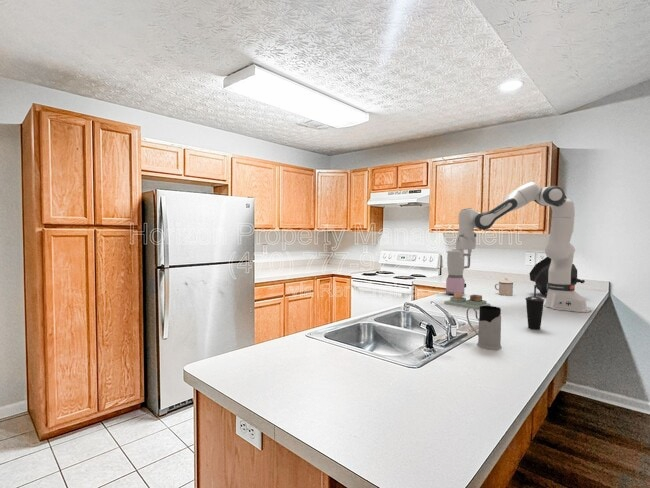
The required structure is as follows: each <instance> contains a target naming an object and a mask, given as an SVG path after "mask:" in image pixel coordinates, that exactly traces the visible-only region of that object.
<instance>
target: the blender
mask: <svg viewBox="0 0 650 488" xmlns="http://www.w3.org/2000/svg"><path fill="white" fill-rule="evenodd" d="M446 253H447V257H446V258H447V259H446V260H447V261H446V264H447V266H446V267H447V273H448V275H447V278H446V283H445V285H446V286H445V293H446V295H447V296H450V295H454V293H455V292H458V293H463V295H464V294H465V289H466V288H467V283H466V281H465V278H464V269H469V268H470V266H471V256H470V257H469V256H467V254H468V253H465V251H464V252H463V254H464V257H460V252H459V250H456V248H452V249H451V250H446ZM465 257H467V263H466V264H467V265H465Z"/></svg>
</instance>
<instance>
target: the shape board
mask: <svg viewBox="0 0 650 488" xmlns="http://www.w3.org/2000/svg"><path fill="white" fill-rule="evenodd" d="M443 304H444V305H448V304H449V306H454V305H456V307H460V306H462V307H463V308H467V307H468V308H470V309H472V308H475V309H476V310H479V308H480V306H491V303H489V302H487V300H483V299H482V301H481V302H475V301H470V298H469V299H467V298H466V297H463V299H454V296H451V297H449V299H448V300H444V302H443ZM471 307H472V308H471ZM468 308H467V309H468Z"/></svg>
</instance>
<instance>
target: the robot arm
mask: <svg viewBox="0 0 650 488" xmlns="http://www.w3.org/2000/svg"><path fill="white" fill-rule="evenodd" d="M531 202H535V203H537V204H538V205H539V206H541V207H542V206H543V207H545V206H549V207H550V208H551V213H552V214H551V224H550V231H549V235H548V239H547V242H546V247H545V249H544V253H545V255H546V256H547V257H549V258H550V259H551V264H550V267H549V273H548V283H547V294H546V299H545V301H544V304H543V307H547V308H550V309H552V310H559V311H567V312H575V313H590V312H592V308H591V307H588V306H587V302H586V298H584V297H583V296H582V295H580V294H579V293H578V292H576V291H575V290H576V288H575V287H576V285H575V286H573V285H572V284H571V268H572V264H574V263H573V262H574V255H575V251H576V249H575V246H574V245H573V244H572V242H571V239H572V236H573V235H572V234H574V229H575V227H574V225H575V211H576V210H575V204H574V201H573V200H572V199H569V198H567V196H566V194H565V191H564V190H563V188H562V187H561V186H558V185H549V186H546V187H545V186H544V187H541V186H540V185H539V184H538V183H537V182H534V181H530V182H527V183H525V184H523V185H521V186H518V187H517V188H515V189H514V190H512V191H511V192H509V193H508V194H507V195H506V196H505V197H504V200H503V201H502V202H501V203H500V204H499V205H497V206H496V207H493V209H491V210H488V211H484V212H479V211H477V210H475V209H474V208H472V207H468V208H463V209H461V210H460V211H459V213H458V228H457V229H458V233H457V237H456V242H455V249H456V250H459V252H460V257H464V258H465V256H464V254H463V252H464V253H465V250H467V253H466V254H467V256H469V257H470V258H471V256H472V255H471V254H472V252H473V250H475V249H476V243H477V242H476V238H477V233H476V232H475V231H474V229H478V230H482V231H483V230H488V229H490V228H491V227H493V225H494V223H495V222H496V221H497V220H499V219H500V218H502V217H503V216H505V215H506V214H508V213H511V212H512V211H517V210H518V209H520V208H523V207H525V206H527V205H528V204H530V203H531ZM467 256H466V257H467Z"/></svg>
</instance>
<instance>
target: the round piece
mask: <svg viewBox="0 0 650 488" xmlns="http://www.w3.org/2000/svg"><path fill="white" fill-rule="evenodd" d="M463 296H464V294H463V293H458V292H455V293H454V294H453V297H454V299H463Z"/></svg>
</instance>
